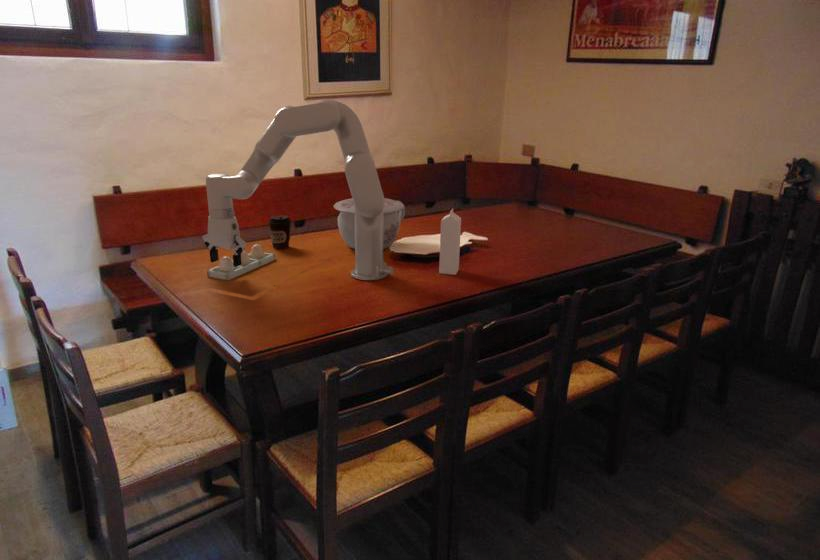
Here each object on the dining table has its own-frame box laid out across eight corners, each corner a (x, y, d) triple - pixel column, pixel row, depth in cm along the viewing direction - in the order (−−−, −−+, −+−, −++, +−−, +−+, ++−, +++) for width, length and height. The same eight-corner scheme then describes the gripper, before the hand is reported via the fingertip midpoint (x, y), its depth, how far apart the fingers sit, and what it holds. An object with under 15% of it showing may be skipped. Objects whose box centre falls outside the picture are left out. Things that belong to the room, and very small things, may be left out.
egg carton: (237, 255, 219) (237, 247, 218) (275, 262, 212) (274, 254, 211) (188, 275, 198) (187, 266, 197) (228, 283, 191) (227, 274, 190)
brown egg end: (267, 260, 211) (266, 243, 209) (258, 264, 207) (257, 247, 205) (256, 258, 213) (255, 241, 211) (247, 262, 209) (246, 245, 207)
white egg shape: (237, 273, 197) (235, 255, 195) (227, 277, 193) (225, 259, 191) (226, 271, 199) (224, 253, 197) (216, 275, 195) (214, 257, 193)
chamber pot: (331, 256, 220) (329, 202, 213) (337, 236, 246) (336, 187, 238) (406, 257, 221) (407, 203, 214) (404, 237, 247) (405, 188, 240)
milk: (438, 273, 204) (440, 211, 196) (442, 268, 209) (444, 207, 202) (456, 275, 203) (458, 212, 195) (459, 269, 208) (461, 208, 201)
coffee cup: (287, 253, 222) (285, 220, 218) (266, 252, 224) (264, 218, 219) (295, 247, 230) (294, 215, 226) (276, 245, 232) (274, 213, 227)
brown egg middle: (252, 266, 204) (251, 249, 202) (243, 270, 200) (242, 253, 198) (242, 264, 206) (240, 247, 204) (232, 268, 202) (231, 251, 200)
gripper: (250, 213, 189) (254, 264, 195) (208, 207, 196) (213, 256, 202) (234, 218, 183) (239, 270, 188) (192, 212, 189) (197, 262, 195)
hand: (226, 263), depth 195 cm, fingers open, 9 cm apart
